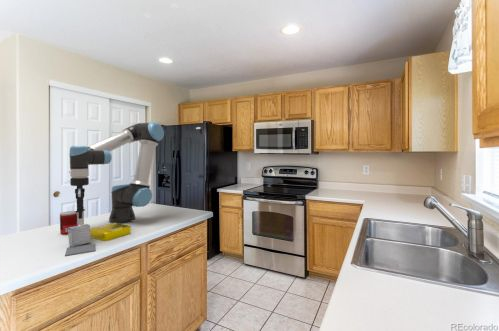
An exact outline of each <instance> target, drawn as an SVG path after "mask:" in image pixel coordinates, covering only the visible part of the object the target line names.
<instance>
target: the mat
mask: <svg viewBox="0 0 499 331" xmlns="http://www.w3.org/2000/svg"><path fill="white" fill-rule="evenodd" d="M93 252H96V243H87V244H82V245H78V246H74V247H71V246H69V247H66V250H65V254H64V257H71V256H75V255H81V254H87V253H93Z"/></svg>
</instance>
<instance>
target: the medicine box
mask: <svg viewBox="0 0 499 331" xmlns="http://www.w3.org/2000/svg"><path fill="white" fill-rule="evenodd" d="M90 229H91V225H90V224H88V223H86V224H85V223H84V225H78V226H75V227H70V228H68V234H67V235H68V245H69V247H75V246H82V245H87V244H91V243H92V237H91V234H90Z"/></svg>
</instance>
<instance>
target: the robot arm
mask: <svg viewBox="0 0 499 331" xmlns="http://www.w3.org/2000/svg"><path fill="white" fill-rule="evenodd" d="M164 136H165V131H164V128H163V126H162V124H160V123H158V122H153V121H152V122H151V121H150V122H138V123H134V124H133V125H131V126H128V127H126V128H123V129H122V130H121V132H118V133H116V134H114V135H112V136H110V137H108V138H106V139H103V140H100V141H99V142H96V143H94V144H92V145H89V146H87V145H71V146H70V147H69V154H68V155H69V168H70V169H69V170H68V173H69V174H70V180H69V181H70V182H69V183H70V186H71V187H76V188H75V189H74V194H75V199H76V210H74V211H75V212H77V225H78V226H80V225H85V211H86V208H85V207H84V198H85V191H86V189H85V188H84V186H85V187H86V186H88V185H89V184H90V181H89V174H90V173H89V172H90V170H89V166H91V165H92V166H93V165H95V166H96V165H108V164H110V163H111V162H112V153H111V152H112V151H114V150H116V149H118V148H121V147H122V146H124V145H126V144H132V143H134V142H139V143H140V147H139V152H138V157H137V161H136V162H137V163H136V167H135V172H134V176H133V180H132V181H130V183H126V184H119V185H118V184H116V185H113V186H112V187H111V192H110V193H111V211H110V214H109V218H108V222H109V224H111V223H120V224H124V223H130V222H134V221H135V220H136V214H135V211H134V209H133V207H137V208H138V207H139V208H141V207H145V206H147V205H148V204H149V203H150V202H151V201H152V198H153V192H152V190H151V189H150V187H151V185H150V183H149V181H150V180H149V179H150V174H151V169H152V164H153V160H154V159H153V158H154V155H155V149H156V147H157V146H158V145H159V141H162V140H163V139H164Z"/></svg>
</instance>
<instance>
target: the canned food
mask: <svg viewBox="0 0 499 331" xmlns="http://www.w3.org/2000/svg"><path fill="white" fill-rule="evenodd" d="M75 211H76V210H70V211H69V210H68V211H67V210H66V211H63V212H61V213H59V227H60V228H59V229H60V234H61V235H63V236H65V235H68V228H70V227H75V226H79V225H77V212H75Z"/></svg>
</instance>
